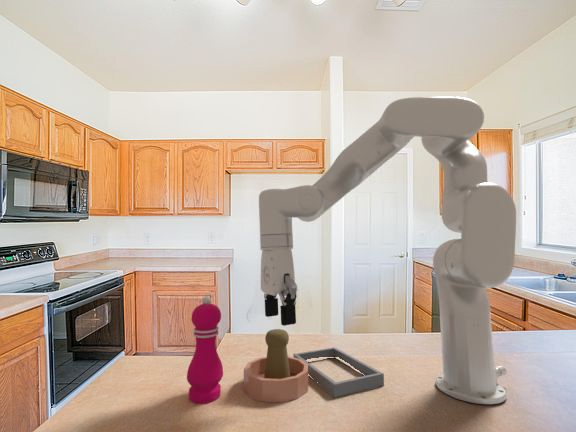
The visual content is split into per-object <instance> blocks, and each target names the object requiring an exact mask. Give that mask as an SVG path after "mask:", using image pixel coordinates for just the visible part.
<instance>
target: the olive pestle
mask: <svg viewBox="0 0 576 432" xmlns="http://www.w3.org/2000/svg"><path fill="white" fill-rule="evenodd" d="M289 337H290V336H289V333H288V331H286V330H285V329H280V328H276V329H275V328H274V329H270V330H268V331H267V332H266V333H265V344H266V345H267V353H266V357H267V359H266V367H265V375H264V378H269V379H282V378H287V377H290V370H289V362H288V356H289V355H288V349H287V346H288V344H289Z"/></svg>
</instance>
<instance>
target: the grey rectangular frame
mask: <svg viewBox="0 0 576 432" xmlns="http://www.w3.org/2000/svg"><path fill="white" fill-rule="evenodd" d="M292 357H294V358H298V359H301V360H303V361H304V362H305V363H307V364H308V374H309V375H310V376H311V377H312V378H313V379H314V380H315V381H316V382H318V384H317V385H319V384H320V385H321V386H322V387H323V388H322V387H321V386H320V385H319V386H320V387H321V388H322V389H323V390H324V391H326V392H327V393H329V394H330V395H331V396H332V397H334V398H339V397H343V396H349V395H352V394H356V393H360V392H365V391H368V390H373V389H376V388H380V387H379V386H381V387H384V386H385V378H384V377H385V376H384V374H385V373H383V372H381V371H380V370H377V369H375V368H374V367H372V366H371V365H368V364H366V363H365V362H364V361H363V362H362V361H361V360H359V359H357V358H355V357H354V356H352V355H350V354H348V353H347V352H344V351H342V350H341V349H339V348H337V347H335V346H334V347H329V348H322V349H321V348H320V349H316V350H311V351H305V352H304V351H303V352H298V353H293V356H292ZM319 357H339V358H340V359H342V360H344V361H345V362H347V363H349V364H350V365H351V366H353V367H354V368H355V369H357V370H359V371H360V372H361V373H363V374H364V375H365V376H363V375H361V376H359V377H353V378H350V379H345V380H340V381H334V380H333V379H332V378H330V377H329V376H328V375H327V374H326V373H324V372H322V371H321V370H320V369H318V368H317V367H316V366H314V365H313V364H311V362H310V363H308V362H307V361H306V360H307V359H311V358H319ZM314 380H313V381H314ZM315 381H314V382H315ZM316 382H315V383H316ZM383 385H384V386H383Z"/></svg>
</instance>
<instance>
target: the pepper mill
mask: <svg viewBox="0 0 576 432" xmlns="http://www.w3.org/2000/svg"><path fill="white" fill-rule="evenodd" d="M201 301H202V303H201V304H199V305H197V306H196V307H195V308H193V311H192V313H191V319H190V320H191V323H192V325H193V326H194V327H195V328H193V337H195V350H194V352H193V353H194V354H193V355H192V359H191V361H190V363H189V365H188V368H187V371H186V381H187V383H188V384H189V385H190V387H189V388H188V400H189V401H190V403H194V404H199V405H200V404H201V405H202V404H209V403H212V402H214V401H216V400H217V399H219V397H221V394H222V393H221V392H222V391H221V390H222V388H221V384H220V382H221V380H222V378H223V376H224V367H223V363H222V360H221V359H220V357H219V353H218V351H217V346H216V344H217V335H219V326H218V325H219V323H220V321H221V319H222V313H221V309H220V308H219V307H218V306H217V305H216V304H213V303H212V298H211V297H210V296H207V295H205V296H204V297H203V298H202V300H201Z"/></svg>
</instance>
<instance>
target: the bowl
mask: <svg viewBox="0 0 576 432" xmlns="http://www.w3.org/2000/svg"><path fill="white" fill-rule="evenodd" d="M266 359H267V356H262V357H258V358H255V359H253V360H250V361H249V362H246V365H245V366H244V369H243V390H244V392H245V393H246V395H247V396H248V397H250V398H252V399H254V400H257V401H260V402H262V403H263V402H264V403H285V402H288V401H289V402H290V401H293V400H297V399H299V398H301V397H302V396H304V395H305V394H306V393H308V391H309V376H308V364H307V363H305V362H304V361H303V360H301V359H298V358H294V356H289V355H288V362H289V370H290V377H287V378H282V379H269V378H264V375H265V367H266Z"/></svg>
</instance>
